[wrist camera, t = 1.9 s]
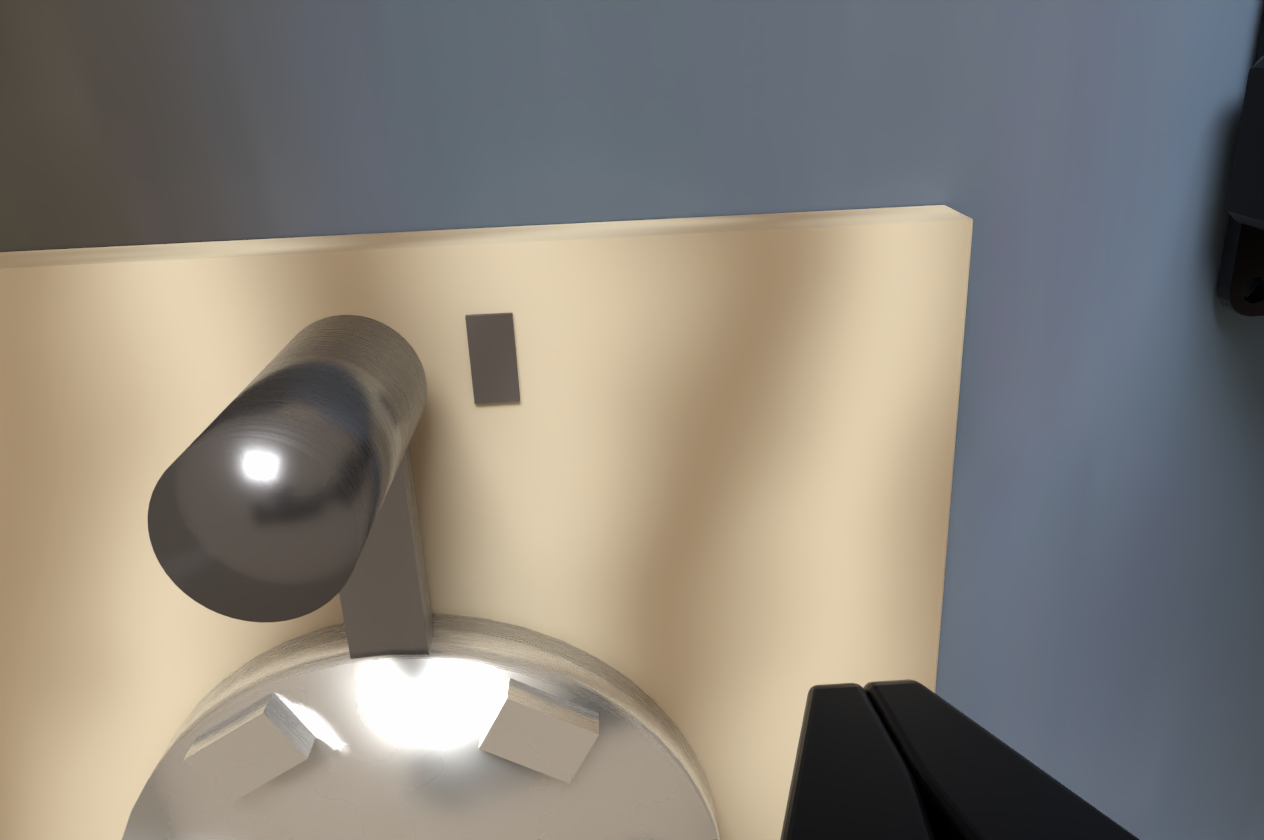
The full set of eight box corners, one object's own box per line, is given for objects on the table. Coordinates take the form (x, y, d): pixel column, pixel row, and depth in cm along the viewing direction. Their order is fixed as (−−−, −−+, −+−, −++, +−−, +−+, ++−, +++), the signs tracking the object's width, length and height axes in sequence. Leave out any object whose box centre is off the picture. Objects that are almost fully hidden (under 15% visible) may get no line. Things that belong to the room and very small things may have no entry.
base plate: (944, 205, 18) (975, 220, 17) (888, 992, 26) (907, 1052, 24) (-333, 268, 18) (-417, 290, 16) (-19, 1051, 25) (-58, 1116, 24)
